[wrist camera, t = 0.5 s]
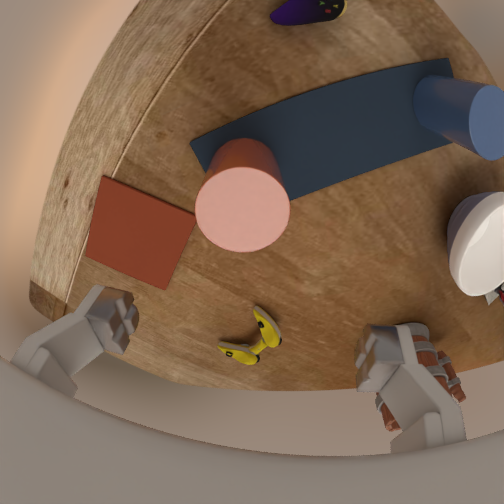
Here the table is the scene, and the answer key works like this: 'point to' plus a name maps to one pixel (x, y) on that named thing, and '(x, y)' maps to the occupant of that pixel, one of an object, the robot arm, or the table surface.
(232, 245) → the orange cylinder block
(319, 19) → the gaming controller
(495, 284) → the bowl
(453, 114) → the blue cylinder block
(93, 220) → the terracotta mat
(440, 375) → the mug
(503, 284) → the statue
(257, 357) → the game controller
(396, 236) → the table surface
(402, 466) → the robot arm
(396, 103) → the slate mat
